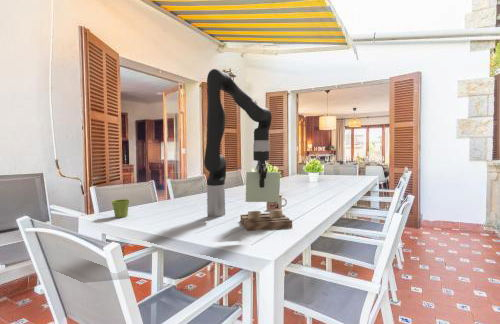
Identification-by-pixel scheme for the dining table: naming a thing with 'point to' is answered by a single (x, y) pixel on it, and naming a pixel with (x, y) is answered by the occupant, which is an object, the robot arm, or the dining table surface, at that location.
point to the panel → (268, 191)
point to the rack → (266, 222)
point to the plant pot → (120, 207)
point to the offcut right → (275, 213)
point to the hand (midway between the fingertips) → (261, 187)
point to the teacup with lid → (276, 204)
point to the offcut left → (254, 214)
